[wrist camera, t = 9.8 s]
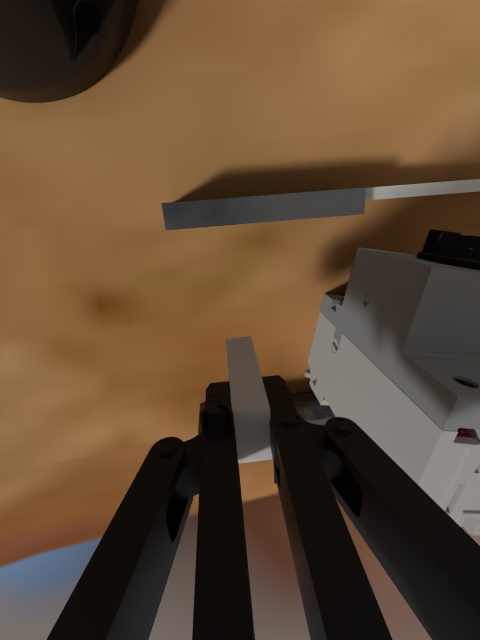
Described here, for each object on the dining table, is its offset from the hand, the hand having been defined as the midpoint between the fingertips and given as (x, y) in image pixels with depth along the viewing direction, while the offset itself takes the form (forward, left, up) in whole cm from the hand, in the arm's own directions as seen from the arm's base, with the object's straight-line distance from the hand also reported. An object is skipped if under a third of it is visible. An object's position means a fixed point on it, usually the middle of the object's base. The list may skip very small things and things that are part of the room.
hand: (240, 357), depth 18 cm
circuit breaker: (+1, +11, -8) cm, 14 cm away
